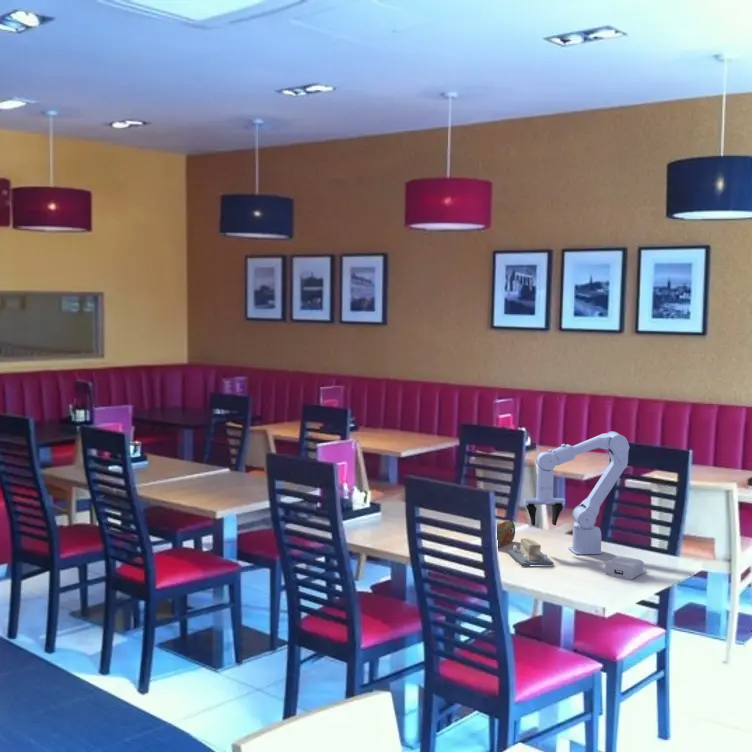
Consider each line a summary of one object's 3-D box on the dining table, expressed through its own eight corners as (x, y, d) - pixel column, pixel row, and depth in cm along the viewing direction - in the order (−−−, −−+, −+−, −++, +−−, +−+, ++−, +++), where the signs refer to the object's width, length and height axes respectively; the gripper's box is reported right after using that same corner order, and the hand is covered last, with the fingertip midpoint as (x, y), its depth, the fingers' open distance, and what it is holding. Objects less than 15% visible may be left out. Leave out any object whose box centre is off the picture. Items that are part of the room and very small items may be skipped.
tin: (495, 549, 328) (495, 526, 327) (487, 548, 330) (488, 524, 329) (515, 541, 340) (516, 518, 339) (508, 539, 342) (508, 517, 341)
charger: (650, 570, 306) (632, 580, 294) (624, 565, 312) (605, 575, 300) (651, 556, 306) (632, 566, 294) (624, 551, 312) (605, 560, 300)
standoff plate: (537, 552, 324) (538, 543, 324) (553, 565, 309) (553, 556, 308) (507, 553, 323) (507, 544, 322) (521, 566, 307) (521, 557, 307)
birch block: (531, 552, 320) (532, 538, 320) (540, 559, 311) (540, 545, 311) (520, 552, 319) (520, 538, 319) (528, 560, 311) (529, 545, 310)
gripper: (528, 489, 320) (527, 528, 321) (568, 488, 322) (567, 527, 323) (522, 485, 327) (521, 523, 328) (561, 484, 329) (560, 522, 330)
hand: (543, 524), depth 326 cm, fingers open, 7 cm apart
